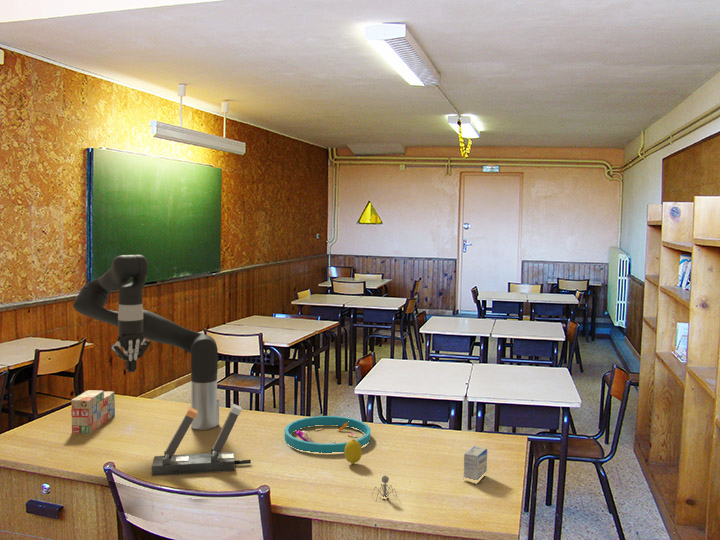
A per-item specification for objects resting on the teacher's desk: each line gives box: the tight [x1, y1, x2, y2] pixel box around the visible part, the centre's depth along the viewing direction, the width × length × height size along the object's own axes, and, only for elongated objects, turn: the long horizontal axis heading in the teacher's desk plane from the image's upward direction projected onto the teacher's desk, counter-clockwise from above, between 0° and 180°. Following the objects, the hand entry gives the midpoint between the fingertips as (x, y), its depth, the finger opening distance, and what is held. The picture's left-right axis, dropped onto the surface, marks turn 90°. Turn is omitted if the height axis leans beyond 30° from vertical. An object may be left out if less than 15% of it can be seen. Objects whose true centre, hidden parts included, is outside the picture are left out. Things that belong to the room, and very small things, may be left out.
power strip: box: [151, 447, 252, 477], centre depth 192 cm, size 29×8×5 cm, turn 102°
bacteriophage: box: [371, 475, 399, 501], centre depth 174 cm, size 7×8×7 cm
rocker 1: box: [165, 406, 197, 458], centre depth 190 cm, size 3×4×17 cm, turn 13°
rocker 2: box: [212, 403, 243, 455], centre depth 193 cm, size 3×4×17 cm, turn 13°
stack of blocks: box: [70, 389, 116, 435], centre depth 230 cm, size 21×6×12 cm, turn 178°
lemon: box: [344, 438, 363, 464], centre depth 198 cm, size 6×6×8 cm
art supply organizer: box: [284, 415, 371, 453], centre depth 220 cm, size 30×30×6 cm
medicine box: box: [463, 445, 488, 480], centre depth 189 cm, size 8×4×9 cm, turn 148°
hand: (131, 371), depth 200 cm, fingers closed
